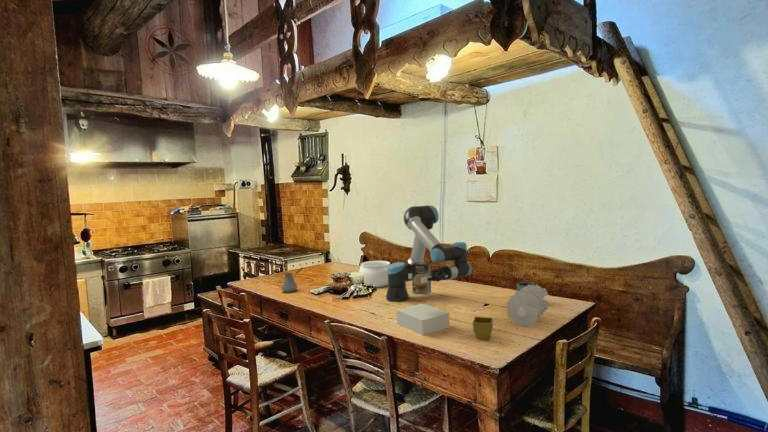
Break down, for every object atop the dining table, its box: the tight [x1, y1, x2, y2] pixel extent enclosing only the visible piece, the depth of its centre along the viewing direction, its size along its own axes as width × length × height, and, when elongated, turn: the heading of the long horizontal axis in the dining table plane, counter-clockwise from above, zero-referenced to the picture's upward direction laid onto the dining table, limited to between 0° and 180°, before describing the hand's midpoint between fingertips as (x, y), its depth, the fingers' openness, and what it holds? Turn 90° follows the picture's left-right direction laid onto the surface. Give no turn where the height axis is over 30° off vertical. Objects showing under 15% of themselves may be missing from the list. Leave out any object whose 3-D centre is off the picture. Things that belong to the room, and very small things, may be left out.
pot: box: [358, 260, 391, 288], centre depth 308 cm, size 29×26×16 cm
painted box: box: [395, 303, 450, 336], centre depth 214 cm, size 22×18×8 cm
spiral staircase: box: [506, 283, 549, 328], centre depth 214 cm, size 18×18×25 cm
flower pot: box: [472, 316, 494, 341], centre depth 193 cm, size 9×9×9 cm
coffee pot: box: [281, 267, 304, 293], centre depth 301 cm, size 21×12×15 cm, turn 148°
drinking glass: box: [516, 281, 535, 292], centre depth 246 cm, size 10×10×12 cm
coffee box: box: [411, 261, 432, 296], centre depth 212 cm, size 9×6×16 cm
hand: (415, 278), depth 210 cm, fingers closed on coffee box, 11 cm apart
